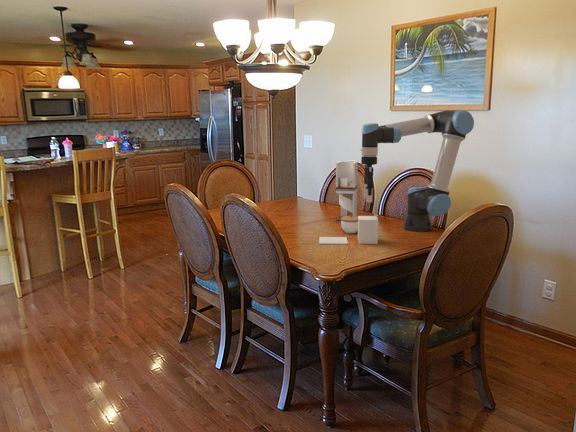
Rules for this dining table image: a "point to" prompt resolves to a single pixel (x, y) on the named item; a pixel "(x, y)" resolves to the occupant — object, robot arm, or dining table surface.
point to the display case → (347, 187)
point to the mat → (333, 241)
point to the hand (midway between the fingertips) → (367, 199)
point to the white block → (367, 230)
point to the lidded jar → (349, 224)
